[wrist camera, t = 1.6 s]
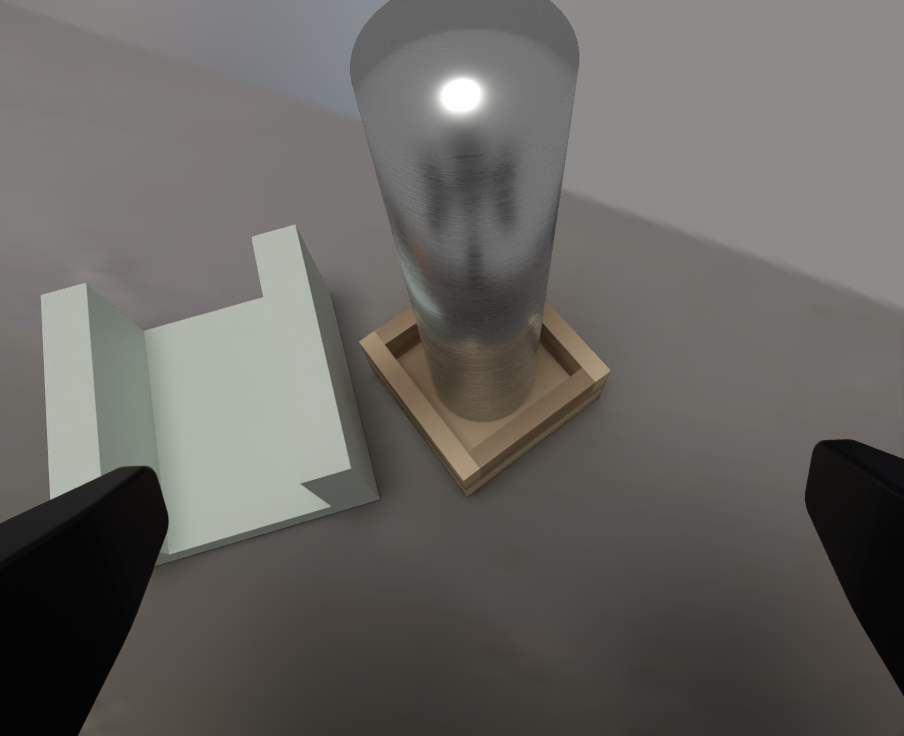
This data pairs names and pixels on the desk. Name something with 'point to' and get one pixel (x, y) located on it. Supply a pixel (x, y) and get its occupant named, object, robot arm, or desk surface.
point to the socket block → (497, 442)
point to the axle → (471, 178)
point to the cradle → (212, 404)
